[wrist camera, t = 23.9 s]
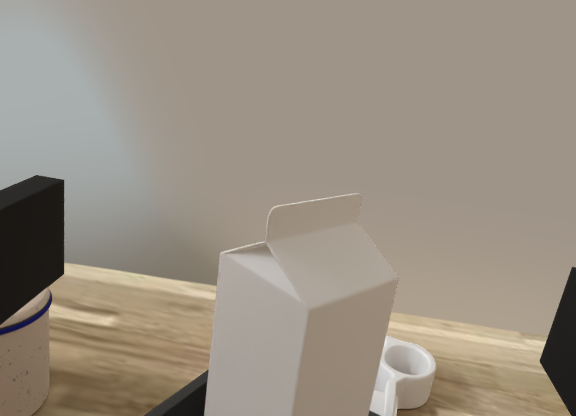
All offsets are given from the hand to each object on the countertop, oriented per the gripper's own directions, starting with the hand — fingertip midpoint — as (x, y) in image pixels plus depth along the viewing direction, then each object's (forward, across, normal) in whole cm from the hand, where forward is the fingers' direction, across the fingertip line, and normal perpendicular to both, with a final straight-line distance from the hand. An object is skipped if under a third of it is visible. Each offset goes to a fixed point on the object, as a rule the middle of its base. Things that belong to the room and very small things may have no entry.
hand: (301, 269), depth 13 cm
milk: (+10, 0, -23) cm, 25 cm away
